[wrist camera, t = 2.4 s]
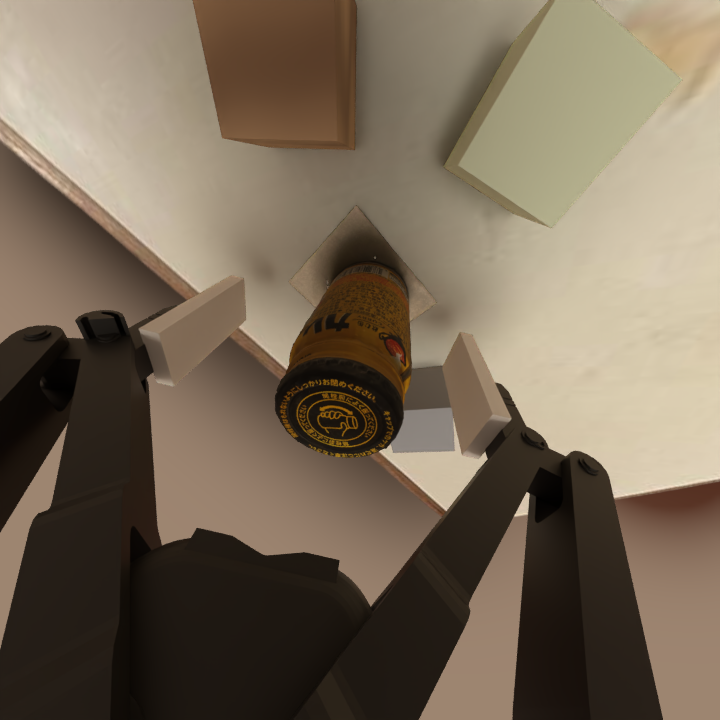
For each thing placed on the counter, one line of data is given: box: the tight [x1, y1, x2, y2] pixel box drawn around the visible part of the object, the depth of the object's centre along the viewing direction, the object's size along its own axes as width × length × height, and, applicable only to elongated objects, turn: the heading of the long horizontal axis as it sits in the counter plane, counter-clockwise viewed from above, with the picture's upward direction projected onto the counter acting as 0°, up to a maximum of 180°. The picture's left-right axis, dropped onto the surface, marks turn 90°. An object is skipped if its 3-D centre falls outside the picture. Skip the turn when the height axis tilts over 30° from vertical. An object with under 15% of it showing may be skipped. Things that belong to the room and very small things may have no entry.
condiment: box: [275, 206, 437, 458], centre depth 15 cm, size 7×8×12 cm
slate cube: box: [391, 366, 455, 453], centre depth 22 cm, size 5×5×5 cm
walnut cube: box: [193, 0, 357, 150], centre depth 11 cm, size 5×5×5 cm
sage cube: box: [443, 0, 682, 228], centre depth 12 cm, size 5×5×5 cm
